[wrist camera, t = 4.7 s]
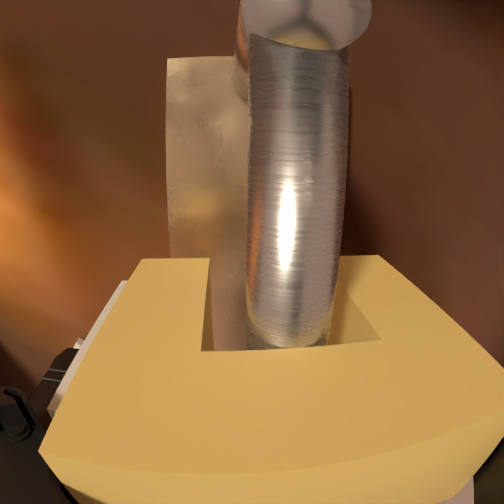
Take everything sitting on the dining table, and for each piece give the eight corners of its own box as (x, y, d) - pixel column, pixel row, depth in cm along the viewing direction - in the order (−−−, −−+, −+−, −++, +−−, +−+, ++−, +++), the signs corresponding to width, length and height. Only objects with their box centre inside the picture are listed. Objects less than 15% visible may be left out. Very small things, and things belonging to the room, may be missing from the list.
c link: (154, 348, 13) (112, 537, 5) (141, 258, 11) (38, 450, 3) (363, 339, 13) (455, 495, 5) (378, 255, 12) (529, 395, 4)
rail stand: (171, 61, 13) (99, -43, 4) (337, 66, 14) (470, 0, 4) (191, 405, 20) (184, 538, 10) (309, 400, 20) (348, 524, 11)
